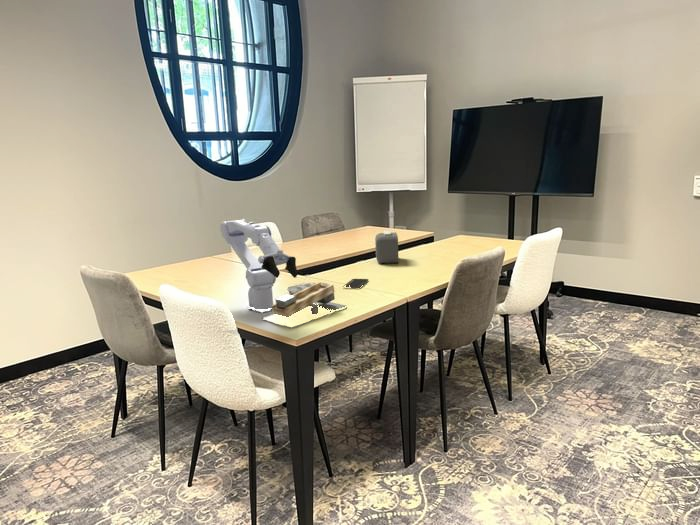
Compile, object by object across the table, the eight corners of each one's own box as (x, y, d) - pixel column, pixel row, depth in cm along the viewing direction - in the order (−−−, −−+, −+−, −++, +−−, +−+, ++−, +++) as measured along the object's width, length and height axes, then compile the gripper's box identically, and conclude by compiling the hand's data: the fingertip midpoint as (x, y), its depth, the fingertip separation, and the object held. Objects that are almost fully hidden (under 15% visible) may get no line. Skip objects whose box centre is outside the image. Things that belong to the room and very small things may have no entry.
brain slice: (309, 286, 235) (309, 280, 234) (338, 291, 224) (337, 285, 223) (277, 297, 220) (276, 290, 219) (306, 303, 209) (305, 296, 209)
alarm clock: (398, 264, 271) (397, 234, 268) (376, 265, 272) (375, 235, 268) (396, 257, 287) (395, 229, 284) (375, 258, 288) (374, 230, 284)
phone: (342, 286, 228) (352, 278, 242) (342, 289, 228) (353, 280, 242) (359, 287, 225) (369, 278, 239) (360, 290, 226) (369, 281, 240)
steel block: (286, 311, 184) (284, 301, 183) (277, 309, 187) (275, 299, 186) (297, 306, 187) (295, 296, 186) (287, 304, 191) (285, 294, 189)
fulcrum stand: (291, 328, 179) (290, 319, 178) (261, 320, 190) (261, 311, 189) (346, 308, 199) (346, 299, 198) (317, 301, 210) (317, 293, 209)
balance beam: (293, 325, 182) (290, 310, 180) (271, 319, 190) (267, 304, 188) (339, 300, 198) (337, 285, 197) (317, 295, 206) (314, 281, 205)
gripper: (257, 240, 183) (274, 266, 175) (291, 242, 192) (308, 267, 185) (250, 256, 186) (266, 282, 178) (284, 257, 196) (300, 281, 188)
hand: (287, 275), depth 182 cm, fingers open, 7 cm apart
